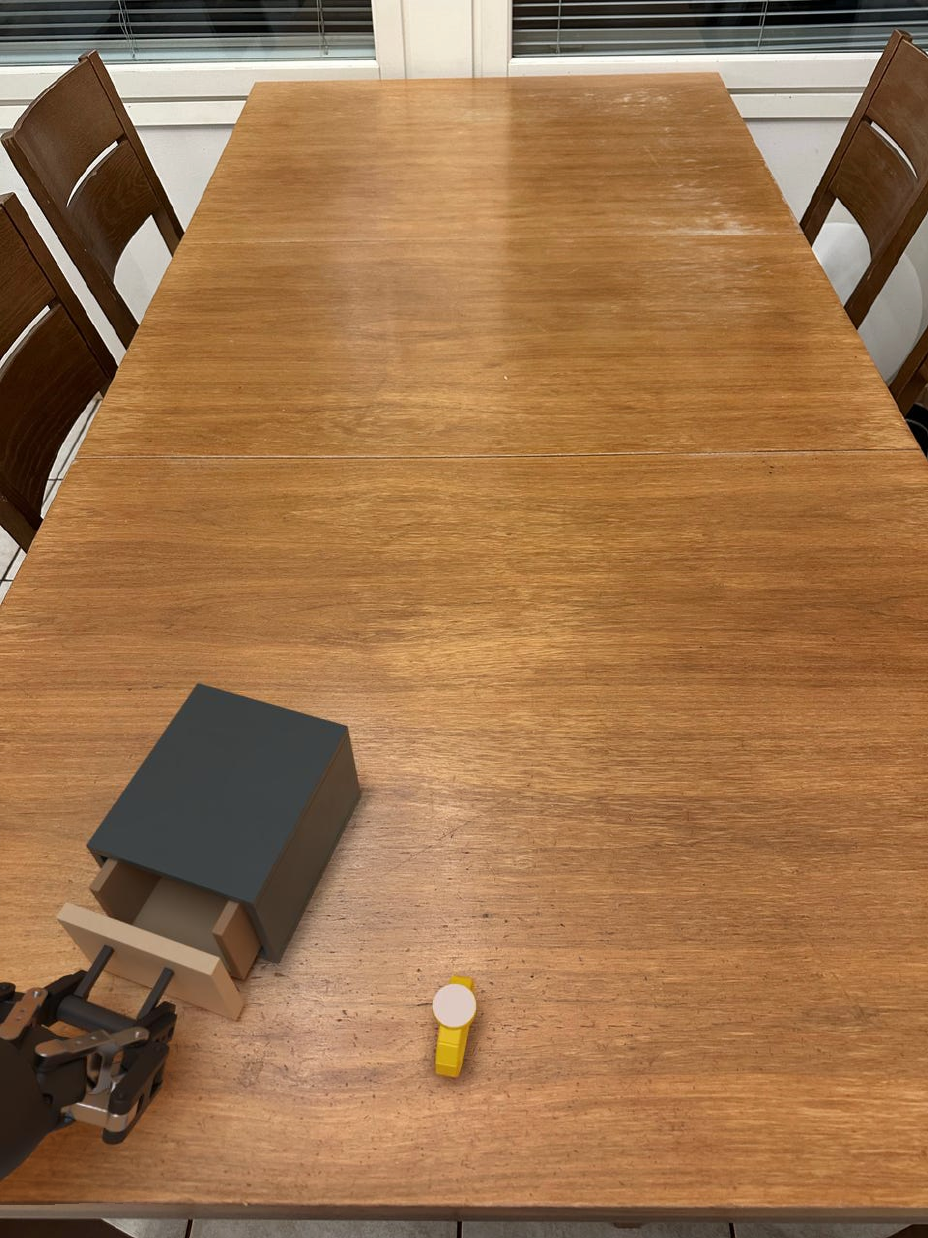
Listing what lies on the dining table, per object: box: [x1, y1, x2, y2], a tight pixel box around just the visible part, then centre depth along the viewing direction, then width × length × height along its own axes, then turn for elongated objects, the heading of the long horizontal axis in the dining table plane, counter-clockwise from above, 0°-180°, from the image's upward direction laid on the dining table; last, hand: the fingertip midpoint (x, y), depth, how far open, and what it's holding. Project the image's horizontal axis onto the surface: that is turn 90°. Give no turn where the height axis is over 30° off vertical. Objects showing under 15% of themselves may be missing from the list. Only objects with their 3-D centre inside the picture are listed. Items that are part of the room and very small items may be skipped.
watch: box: [431, 974, 478, 1078], centre depth 61 cm, size 6×3×6 cm, turn 169°
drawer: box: [55, 858, 262, 1035], centre depth 65 cm, size 18×11×8 cm, turn 160°
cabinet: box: [85, 682, 362, 965], centre depth 70 cm, size 15×13×10 cm
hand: (126, 1001), depth 60 cm, fingers closed on drawer, 5 cm apart
